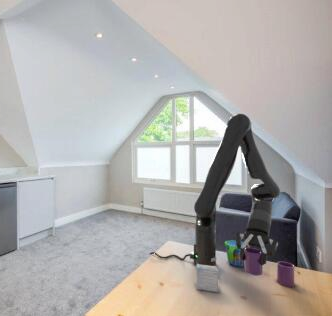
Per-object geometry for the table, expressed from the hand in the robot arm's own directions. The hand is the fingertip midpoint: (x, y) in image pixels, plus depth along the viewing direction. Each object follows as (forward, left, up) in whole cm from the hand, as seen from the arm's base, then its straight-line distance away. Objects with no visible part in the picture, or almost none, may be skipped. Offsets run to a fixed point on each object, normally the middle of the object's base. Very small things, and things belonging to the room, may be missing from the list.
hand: (252, 261), depth 91 cm
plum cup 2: (+7, +24, -15) cm, 29 cm away
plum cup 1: (0, +2, -4) cm, 5 cm away
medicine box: (-15, -3, -15) cm, 21 cm away
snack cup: (-13, +30, -15) cm, 36 cm away
